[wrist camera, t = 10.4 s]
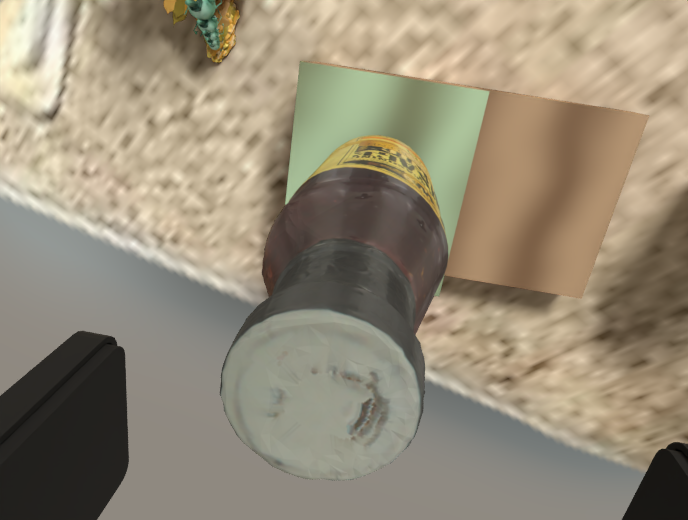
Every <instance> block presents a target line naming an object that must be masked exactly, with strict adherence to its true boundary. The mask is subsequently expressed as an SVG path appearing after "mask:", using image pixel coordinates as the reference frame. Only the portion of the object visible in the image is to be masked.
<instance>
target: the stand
mask: <svg viewBox="0 0 688 520" xmlns="http://www.w3.org/2000/svg"><path fill="white" fill-rule="evenodd" d="M648 118H649V115H644V114H639V113H634V112H629V111H623V110H616V109H610V108H604V107H597V106H591V105H585V104H579V103H572V102H566V101H560V100H553V99H547V98H541V97H534V96H528V95H522V94H516V93H509V92H503V91H497V90H490V89H484V88H478V87H472V86H465V85H459V84H453V83H446V82H440V81H434V80H428V79H421V78H415V77H409V76H402V75H396V74H390V73H383V72H377V71H371V70H365V69H358V68H352V67H346V66H339V65H333V64H327V63H321V62H307V61H300V66H299V75H298V85H297V94H296V104H295V114H294V123H293V133H292V143H291V152H290V162H289V171H288V181H287V191H286V200H285V205H286V204H287V203H288V202H289V200H290V199H291V197H292V196H293V194H294V193H295V192H296V191H297V189H298V188H299V187H300V186H301V185H302V184H303V183H304V182H305V181H306V180H307V179H308V178H309V177H310V176H311V175H312V174H313V173H314V172H315V171H316V170H317V168H318V167H319V166H320V165H321V164H322V163H323V162H324V161H325V160H326V159H327V158H328V157H329V155H330V154H331V153H332V152H334V151H335V150H336V149H337V148H338V147H340V146H341V145H343V144H344V143H346V142H348V141H350V140H352V139H354V138H357V137H361V136H369V135H381V136H386V137H390V138H394V139H397V140H399V141H401V142H402V143H404V144H406V145H407V146H409V147H410V148H411V149H412V150H413V151H414V152H415V153H417V155H418V156H419V157H420V158H421V160H422V161H423V163H424V164H425V166H426V168H427V170H428V172H429V175H430V178H431V181H432V185H433V189H434V192H435V194H436V197H437V202H438V205H439V209H440V214H441V218H442V221H443V224H444V227H445V233H446V237H447V243H448V255H449V256H448V263H447V268H446V271H445V274H444V276H450V277H456V278H462V279H468V280H474V281H480V282H486V283H492V284H498V285H504V286H510V287H516V288H522V289H528V290H534V291H540V292H546V293H552V294H557V295H563V296H569V297H575V298H582V296H583V293H584V290H585V288H586V285H587V282H588V279H589V277H590V274H591V271H592V269H593V266H594V263H595V261H596V258H597V255H598V253H599V250H600V247H601V244H602V242H603V239H604V236H605V234H606V231H607V228H608V226H609V223H610V220H611V217H612V215H613V212H614V209H615V207H616V204H617V201H618V199H619V196H620V193H621V190H622V188H623V185H624V182H625V180H626V177H627V174H628V172H629V169H630V166H631V164H632V161H633V158H634V155H635V153H636V150H637V147H638V145H639V142H640V139H641V137H642V134H643V131H644V128H645V126H646V123H647V120H648ZM444 276H443V278H442V280H441V282H440V285H439V287H438V289H437V291H436V293H435V295H434V296H439V295H440V291H441V287H442V283H443V279H444Z"/></svg>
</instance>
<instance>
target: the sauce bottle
mask: <svg viewBox="0 0 688 520" xmlns="http://www.w3.org/2000/svg"><path fill="white" fill-rule="evenodd" d="M264 251H265V252H264V258H263V269H262V275H263V278H264V283H265V285H266V288H267V292H268V294H269V298H268V299H266V300H265V301H264V302H262V303H261V304H260V305H258V306H257V308H256V309H255V310H254V311H253V312H252V313H251V314H250V316H249V317H248V318H247V319H246V321H245V323H244V324H243V326H242V327H241V329H240V331H239V332H238V334H237V336H236V338H235V340H234V341H233V344H232V346H231V348H230V350H229V352H228V354H227V356H226V359H225V361H224V365H223V368H222V373H221V388H220V396H221V398H222V401H223V404H224V411H225V413H226V416H227V418H228V420H229V422H230V424H231V426H232V427H233V429H234V431H235V433H236V434H237V436H238V437H239V438H240V440H241V441H242V442H243V443H244V444H246V445H247V446H248V447H249V448H250V449H252V450H253V451H254V452H255V453H257V454H258V455H259V456H261V457H262V458H263V459H264V460H266V461H267V462H268V463H269V464H270V465H271V466H273V467H275V468H277V469H279V470H281V471H284V472H286V473H289V474H292V475H294V476H297V477H301V478H305V479H327V480H352V479H355V478H359V477H362V476H365V475H368V474H370V473H372V472H375V471H377V470H378V469H381V468H383V467H384V466H386V465H388V464H390V463H392V462H393V461H394V460H395V459H396V458H397V457H398V456H399V455H400V454H401V452H403V451H404V450H405V449H406V448H407V447H408V446H409V444H410V442H411V441H412V439H413V438H414V437H415V434H416V432H417V429H418V426H419V423H420V419H421V416H422V413H423V398H424V394H425V390H424V389H425V384H424V381H425V376H424V375H425V361H424V356H423V353H422V350H421V345H420V342H419V341H418V339H417V337H416V336H415V334H416V332H417V330H418V328H419V326H420V324H421V322H422V320H423V318H424V316H425V314H426V311H427V309H428V307H429V305H430V303H431V301H432V299H433V297H434V295H435V293H436V291H437V289H438V287H439V285H440V282H441V280H442V278H443V276H444V274H445V271H446V268H447V263H448V256H449V255H448V243H447V237H446V233H445V227H444V224H443V221H442V218H441V214H440V209H439V205H438V202H437V197H436V194H435V192H434V189H433V185H432V181H431V178H430V175H429V172H428V170H427V168H426V166H425V164H424V163H423V161H422V160H421V158H420V157H419V156H418V155H417V153H415V152H414V151H413V150H412V149H411V148H410V147H409V146H407V145H406V144H404V143H402V142H401V141H399V140H397V139H394V138H390V137H386V136H381V135H369V136H361V137H357V138H354V139H352V140H350V141H348V142H346V143H344V144H343V145H341V146H340V147H338V148H337V149H336V150H335V151H334V152H332V153H331V154H330V155H329V157H328V158H327V159H326V160H325V161H324V162H323V163H322V164H321V165H320V166H319V167H318V168H317V170H316V171H315V172H314V173H313V174H312V175H311V176H310V177H309V178H308V179H307V180H306V181H305V182H304V183H303V184H302V185H301V186H300V187H299V188H298V189H297V191H296V192H295V193H294V194H293V196H292V197H291V199H290V200H289V202H288V203H287V204H286V205H285V206H284V208H283V209H282V211H281V213H280V214H279V215H278V217H277V219H276V220H275V221H274V224H273V226H272V228H271V231H270V233H269V236H268V238H267V242H266V246H265V249H264Z"/></svg>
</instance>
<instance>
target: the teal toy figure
mask: <svg viewBox="0 0 688 520" xmlns="http://www.w3.org/2000/svg"><path fill="white" fill-rule="evenodd" d="M233 2H234V0H231V1H230V0H164V8H165V9H166V11H167V13H169V12H172V11H173V17H172V18H173V22H174V24H175V23H176V22H179V21H183V20H184V19H185V18H186V16H187V14H188V11H189V12H190V13H191V14H192V16H194V17H195V18H196V20H197V24H198V27H199V29H200V30H201V31H202V34H203V37H204V40H205V43H206V46H207V49H206V52H207V57H208V58H210V57H211V59H212V61H213V62H216V63H220V62H221V61H222V60H221V59H223V58H224V57H225V56H227V54H228V53H229V52H230V50H231V48H232V47H233V45H235V42H236V41H235V39H236V38H235V37H236V36H235V35H234V32H235V25H236V22H237V19H239V11H238V10H237V11H236V5H235V3H233ZM197 24H196V26H197ZM196 26H195V28H196ZM173 27H174V26H173ZM194 32H195V29H194ZM197 32H198V31H196V32H195V34H197ZM202 34H201V35H202ZM201 35H200V36H201Z"/></svg>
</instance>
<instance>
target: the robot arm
mask: <svg viewBox="0 0 688 520" xmlns="http://www.w3.org/2000/svg"><path fill="white" fill-rule="evenodd" d="M126 399H127V398H126V369H125V352H124V349H123V348H122V347H120V346H117V342H116V340H115V338H113V337H111V336H107V335H102V334H96V333H91V332H85V331H78V332H77V333H75V334H74V335H72V336H71V337H70V338H69V339H67V340H66V341H65V342H64V343H63V344H61V345H60V346H59V347H58V348H57V349H56V350H54V351H53V352H52V353H51V354H50V355H49V356H47V357H46V358H45V359H44V360H42V361H41V362H40V363H39V364H38V365H36V367H34V368H33V369H32V370H31V371H29V372H28V373H27V374H26V375H25V376H24V377H22V378H21V379H20V380H19V381H17V382H16V383H15V384H14V385H13V386H11V388H9V389H8V390H7V391H6V392H4V393H3V394H2V395H1V396H0V520H97V519H98V517H99V516H100V514H101V513H102V511H103V510H104V508H105V507H106V505H107V504H108V502H109V501H110V499H111V497H112V496H113V495H114V493H115V492H116V490H117V488H118V487H119V485H120V484H121V482H122V481H123V479H124V476H125V474H126V471H127V468H128V462H129V455H128V427H127V400H126ZM622 520H688V444H685V443H679V442H674V443H671V444H670V445H668V446H667V448H666V449H661V450H659V451H658V452H657V453H656V455H655V457H654V458H653V460H652V462H651V464H650V466H649V468H648V470H647V472H646V474H645V476H644V478H643V480H642V482H641V484H640V486H639V488H638V490H637V492H636V493H635V495H634V497H633V499H632V501H631V503H630V505H629V507H628V509H627V511H626V513H625V515H624V517H623V519H622Z"/></svg>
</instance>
